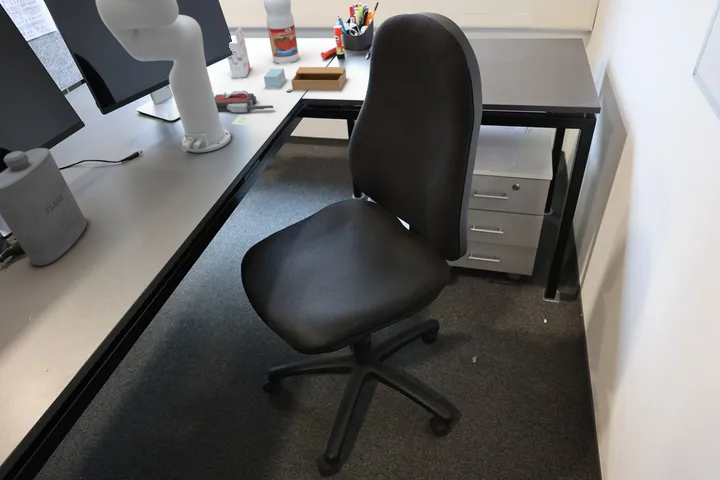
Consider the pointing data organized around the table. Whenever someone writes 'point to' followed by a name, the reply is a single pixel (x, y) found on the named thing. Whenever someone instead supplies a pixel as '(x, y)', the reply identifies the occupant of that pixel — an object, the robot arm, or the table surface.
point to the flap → (320, 70)
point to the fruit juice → (281, 31)
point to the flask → (39, 205)
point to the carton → (318, 81)
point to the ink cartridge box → (238, 56)
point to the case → (274, 78)
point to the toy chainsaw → (237, 102)
